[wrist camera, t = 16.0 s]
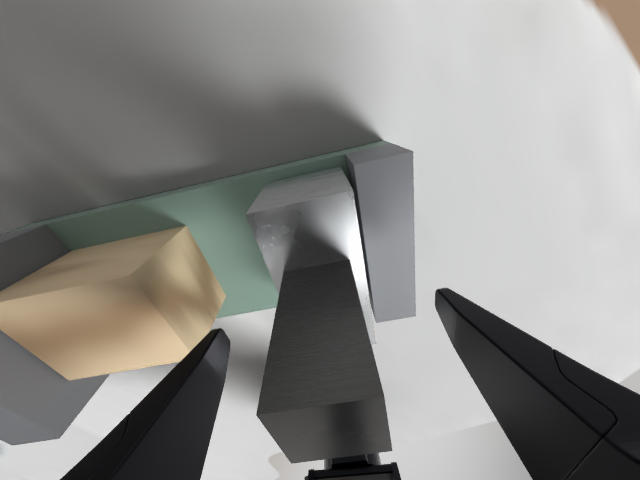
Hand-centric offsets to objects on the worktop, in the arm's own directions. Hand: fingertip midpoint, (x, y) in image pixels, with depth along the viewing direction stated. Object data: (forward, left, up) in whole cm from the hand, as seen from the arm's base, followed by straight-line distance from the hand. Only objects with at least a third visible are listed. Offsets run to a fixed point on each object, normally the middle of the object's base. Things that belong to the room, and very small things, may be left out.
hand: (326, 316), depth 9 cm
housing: (0, +12, -6) cm, 13 cm away
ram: (0, 0, -6) cm, 6 cm away
